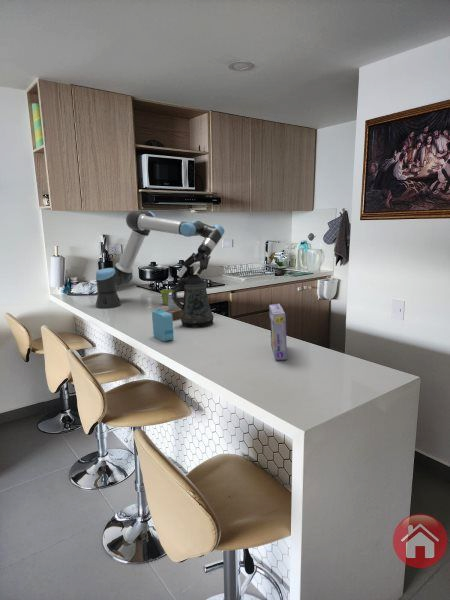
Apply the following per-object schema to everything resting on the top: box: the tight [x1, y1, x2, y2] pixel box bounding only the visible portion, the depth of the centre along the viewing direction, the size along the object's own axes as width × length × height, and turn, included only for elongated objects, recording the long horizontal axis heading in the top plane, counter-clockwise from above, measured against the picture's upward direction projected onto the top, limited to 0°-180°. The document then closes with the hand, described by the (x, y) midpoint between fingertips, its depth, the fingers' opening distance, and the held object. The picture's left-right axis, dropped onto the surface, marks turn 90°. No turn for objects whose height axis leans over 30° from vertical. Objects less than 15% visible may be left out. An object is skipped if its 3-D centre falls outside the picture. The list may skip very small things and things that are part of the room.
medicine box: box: [167, 292, 178, 311], centre depth 212 cm, size 8×4×9 cm, turn 3°
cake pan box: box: [268, 303, 288, 361], centre depth 149 cm, size 19×5×18 cm, turn 178°
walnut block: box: [158, 306, 183, 322], centre depth 213 cm, size 12×12×5 cm
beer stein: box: [171, 273, 214, 329], centre depth 194 cm, size 16×19×25 cm
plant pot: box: [160, 289, 172, 306], centre depth 248 cm, size 9×9×9 cm
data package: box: [151, 309, 175, 343], centre depth 173 cm, size 12×4×12 cm, turn 33°
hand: (186, 277), depth 215 cm, fingers open, 13 cm apart
